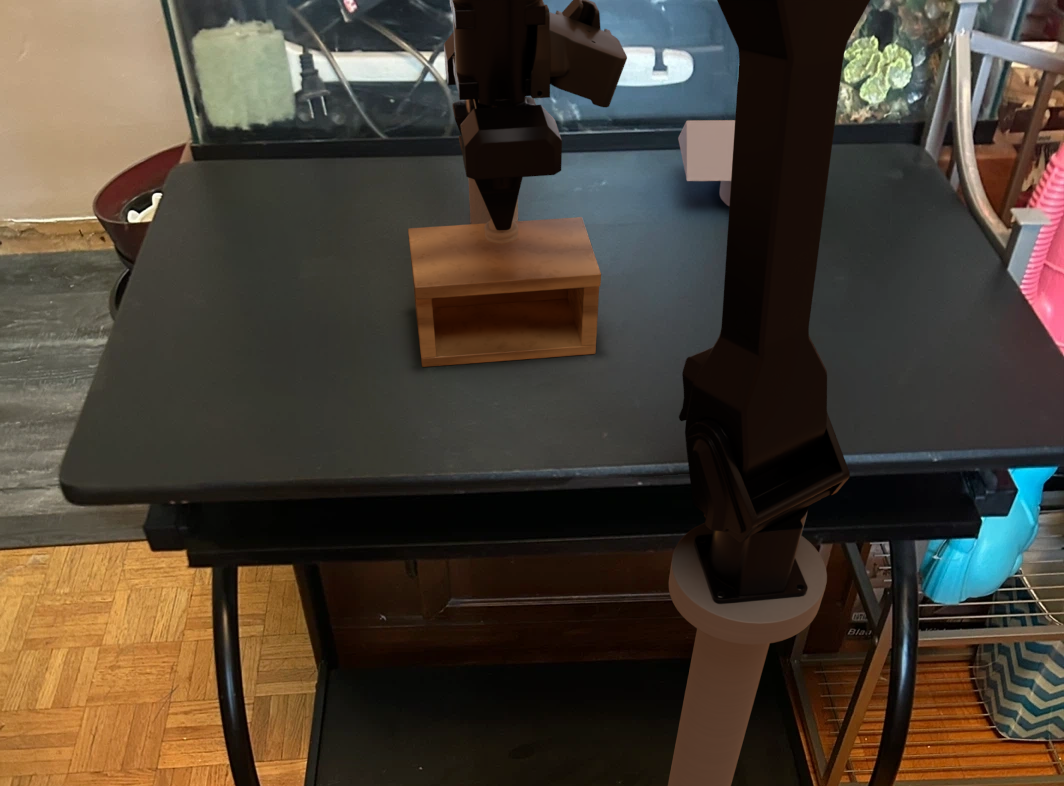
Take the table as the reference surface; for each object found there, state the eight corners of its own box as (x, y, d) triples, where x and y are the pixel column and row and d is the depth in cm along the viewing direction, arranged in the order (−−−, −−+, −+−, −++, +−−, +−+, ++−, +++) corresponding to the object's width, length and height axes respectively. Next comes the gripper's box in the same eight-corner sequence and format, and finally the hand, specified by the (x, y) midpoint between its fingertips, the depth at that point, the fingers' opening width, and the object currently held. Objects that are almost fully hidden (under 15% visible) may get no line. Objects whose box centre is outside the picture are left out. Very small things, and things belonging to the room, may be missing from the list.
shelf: (596, 357, 82) (601, 274, 77) (422, 370, 81) (414, 287, 76) (578, 298, 88) (582, 216, 82) (415, 310, 87) (407, 228, 81)
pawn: (478, 233, 78) (476, 179, 75) (508, 225, 79) (507, 171, 76) (494, 247, 77) (492, 193, 74) (524, 239, 78) (524, 184, 74)
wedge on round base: (682, 217, 96) (820, 217, 96) (691, 141, 91) (837, 141, 91) (674, 174, 102) (804, 173, 102) (682, 100, 97) (819, 99, 97)
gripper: (650, 22, 60) (630, 278, 72) (596, -73, 71) (587, 162, 83) (459, 32, 59) (472, 290, 71) (436, -66, 70) (451, 171, 83)
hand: (501, 223), depth 77 cm, fingers closed on pawn, 2 cm apart
